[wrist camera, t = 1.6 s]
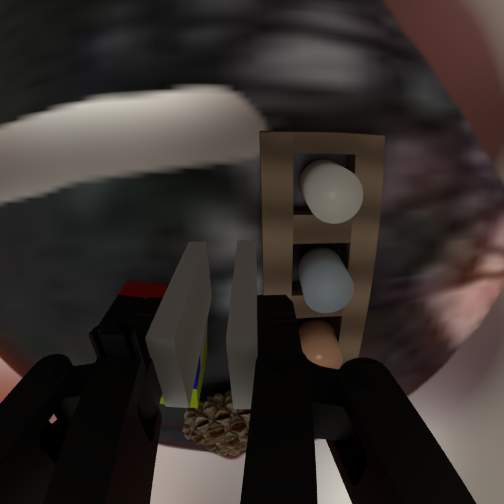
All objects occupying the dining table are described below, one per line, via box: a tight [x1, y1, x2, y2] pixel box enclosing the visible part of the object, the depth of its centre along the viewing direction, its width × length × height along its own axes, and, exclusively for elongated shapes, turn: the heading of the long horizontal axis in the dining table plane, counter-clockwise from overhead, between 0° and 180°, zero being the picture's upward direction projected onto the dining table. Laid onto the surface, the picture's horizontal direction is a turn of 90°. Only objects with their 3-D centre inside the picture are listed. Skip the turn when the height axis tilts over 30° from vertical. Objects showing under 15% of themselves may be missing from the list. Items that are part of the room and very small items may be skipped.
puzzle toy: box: [99, 281, 207, 408], centre depth 35 cm, size 10×10×10 cm
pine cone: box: [182, 391, 251, 456], centre depth 41 cm, size 22×10×10 cm, turn 97°
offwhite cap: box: [299, 159, 363, 224], centre depth 28 cm, size 5×5×5 cm
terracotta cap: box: [298, 319, 343, 369], centre depth 35 cm, size 5×5×5 cm
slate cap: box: [297, 247, 354, 313], centre depth 32 cm, size 5×5×5 cm
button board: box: [260, 131, 385, 366], centre depth 35 cm, size 28×12×3 cm, turn 2°
